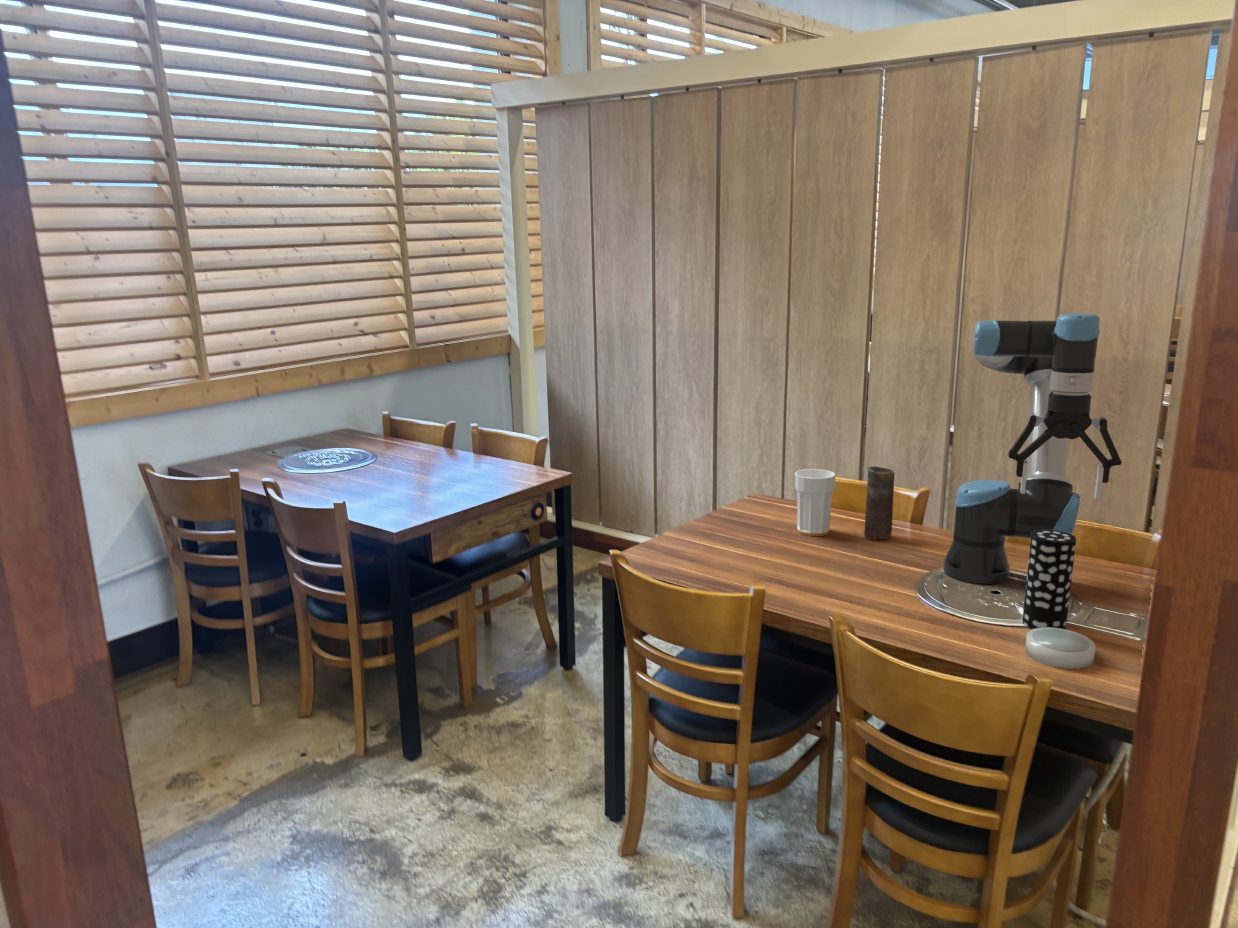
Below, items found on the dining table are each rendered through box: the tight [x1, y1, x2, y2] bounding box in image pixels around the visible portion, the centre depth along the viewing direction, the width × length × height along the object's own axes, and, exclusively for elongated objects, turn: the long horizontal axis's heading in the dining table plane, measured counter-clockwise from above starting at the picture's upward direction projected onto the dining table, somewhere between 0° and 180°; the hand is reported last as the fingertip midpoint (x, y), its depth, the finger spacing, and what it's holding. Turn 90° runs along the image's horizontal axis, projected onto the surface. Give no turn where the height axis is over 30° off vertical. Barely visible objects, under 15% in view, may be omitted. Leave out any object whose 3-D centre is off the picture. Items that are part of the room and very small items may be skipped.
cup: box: [794, 468, 836, 537], centre depth 238 cm, size 11×11×17 cm
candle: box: [863, 466, 895, 541], centre depth 232 cm, size 8×7×20 cm
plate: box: [1024, 627, 1096, 670], centre depth 163 cm, size 12×12×3 cm
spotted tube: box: [1022, 530, 1077, 630], centre depth 174 cm, size 8×8×20 cm
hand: (1059, 495), depth 170 cm, fingers open, 13 cm apart
